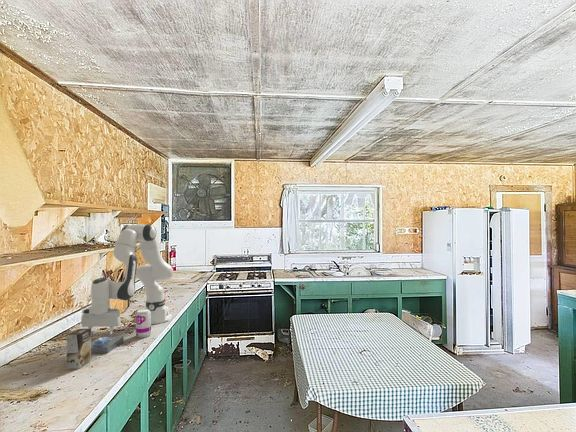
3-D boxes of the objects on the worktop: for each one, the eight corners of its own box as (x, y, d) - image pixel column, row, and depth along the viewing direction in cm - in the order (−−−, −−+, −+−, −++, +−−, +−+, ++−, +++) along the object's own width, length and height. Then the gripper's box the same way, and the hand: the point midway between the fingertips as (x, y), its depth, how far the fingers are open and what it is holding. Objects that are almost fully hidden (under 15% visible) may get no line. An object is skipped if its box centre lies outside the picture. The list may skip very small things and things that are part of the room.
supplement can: (145, 338, 197) (145, 312, 197) (133, 337, 199) (132, 312, 199) (153, 333, 205) (153, 309, 205) (141, 333, 207) (141, 308, 207)
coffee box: (79, 369, 158) (79, 334, 158) (66, 369, 158) (65, 334, 158) (91, 360, 167) (91, 328, 167) (79, 360, 167) (78, 328, 167)
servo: (103, 344, 187) (102, 334, 188) (110, 344, 187) (109, 334, 187) (93, 351, 178) (92, 340, 178) (100, 351, 178) (100, 340, 178)
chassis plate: (99, 342, 192) (99, 336, 193) (123, 342, 192) (123, 336, 192) (81, 353, 176) (81, 347, 177) (107, 353, 176) (107, 347, 176)
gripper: (122, 306, 186) (123, 331, 186) (86, 307, 186) (87, 332, 186) (116, 310, 179) (117, 335, 180) (78, 310, 180) (79, 336, 180)
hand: (101, 334), depth 183 cm, fingers open, 8 cm apart
